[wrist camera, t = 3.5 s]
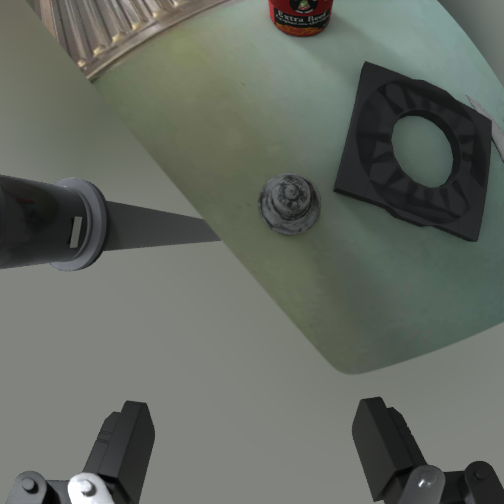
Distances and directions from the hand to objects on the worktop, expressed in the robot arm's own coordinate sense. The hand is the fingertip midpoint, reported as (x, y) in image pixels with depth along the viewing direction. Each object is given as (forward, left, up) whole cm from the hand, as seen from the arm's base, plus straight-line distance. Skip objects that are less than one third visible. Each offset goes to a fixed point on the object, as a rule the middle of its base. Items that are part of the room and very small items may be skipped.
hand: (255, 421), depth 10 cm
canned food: (-6, +35, -23) cm, 42 cm away
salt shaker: (-1, +10, -23) cm, 25 cm away
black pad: (+12, +21, -23) cm, 33 cm away
